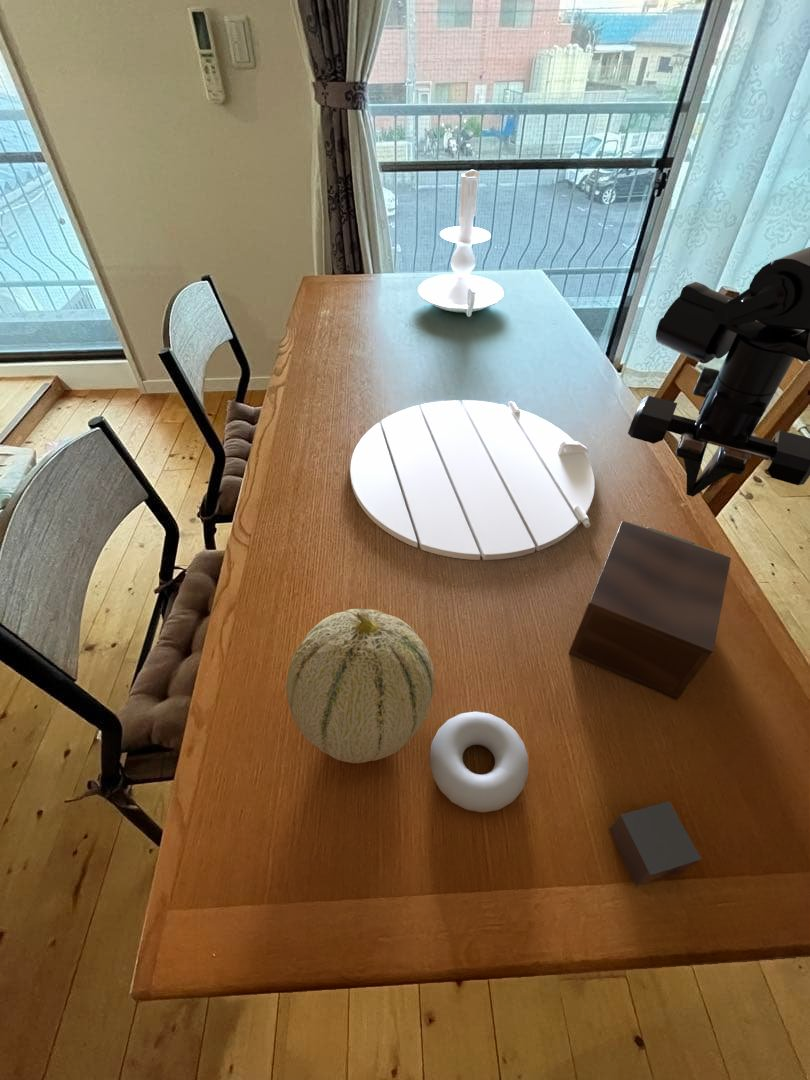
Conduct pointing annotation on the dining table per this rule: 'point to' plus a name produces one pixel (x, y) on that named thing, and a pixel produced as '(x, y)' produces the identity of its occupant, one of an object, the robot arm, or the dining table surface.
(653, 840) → the stand
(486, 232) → the candlestick
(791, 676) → the dining table surface
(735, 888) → the dining table surface
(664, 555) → the cabinet
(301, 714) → the cantaloupe
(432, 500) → the lazy susan
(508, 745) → the donut
